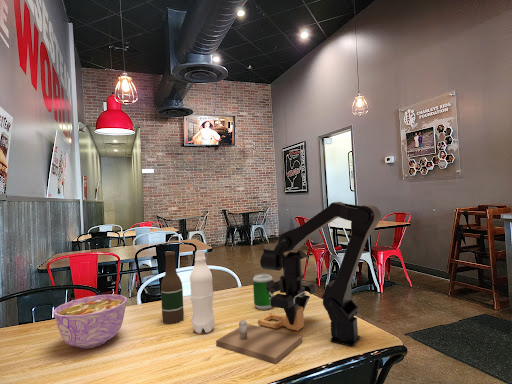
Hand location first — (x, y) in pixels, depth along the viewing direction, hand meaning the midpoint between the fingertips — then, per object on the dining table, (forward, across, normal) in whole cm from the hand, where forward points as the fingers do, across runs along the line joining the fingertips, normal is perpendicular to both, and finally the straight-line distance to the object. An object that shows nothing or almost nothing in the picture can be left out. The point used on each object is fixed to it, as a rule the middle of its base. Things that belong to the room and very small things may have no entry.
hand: (295, 322), depth 100 cm
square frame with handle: (+1, 0, -5) cm, 5 cm away
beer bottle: (+2, +14, -41) cm, 43 cm away
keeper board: (+2, +14, -4) cm, 15 cm away
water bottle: (+2, +15, -25) cm, 29 cm away
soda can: (+2, -12, -20) cm, 23 cm away
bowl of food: (+2, +38, -49) cm, 62 cm away
